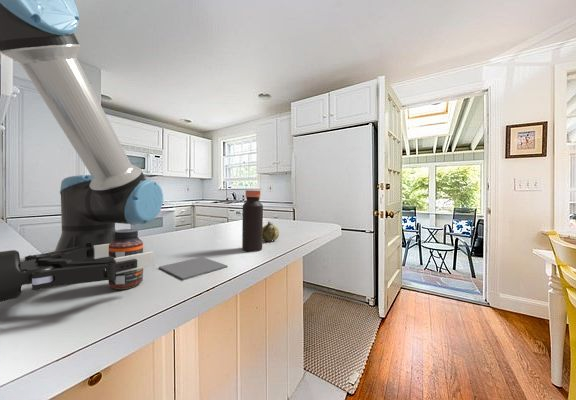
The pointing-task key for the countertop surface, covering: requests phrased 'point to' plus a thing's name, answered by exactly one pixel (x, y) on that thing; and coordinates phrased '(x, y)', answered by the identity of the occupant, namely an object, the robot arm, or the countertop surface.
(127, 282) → the supplement bottle
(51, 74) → the robot arm
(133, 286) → the brass marker
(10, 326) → the countertop surface
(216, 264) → the rubber mat
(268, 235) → the onion
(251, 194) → the vinegar
